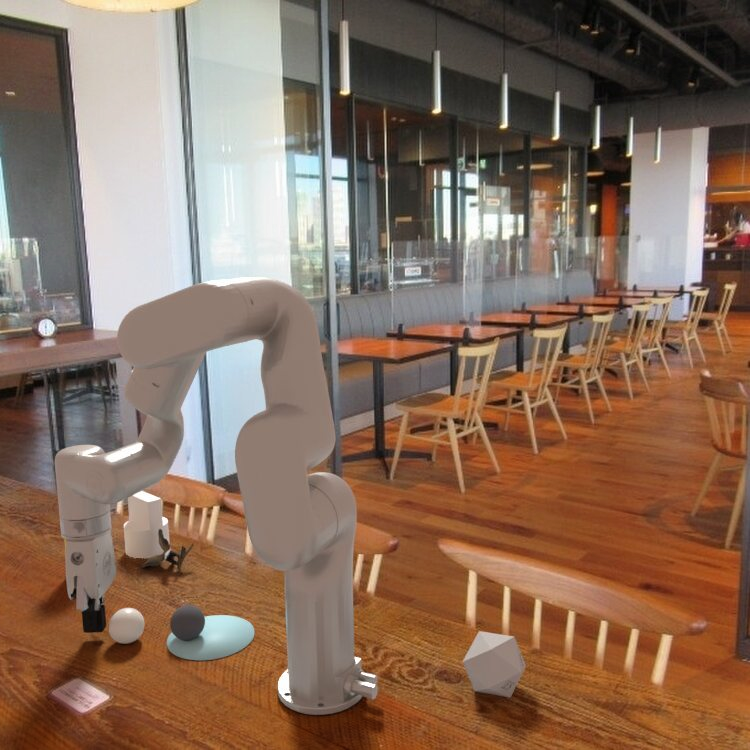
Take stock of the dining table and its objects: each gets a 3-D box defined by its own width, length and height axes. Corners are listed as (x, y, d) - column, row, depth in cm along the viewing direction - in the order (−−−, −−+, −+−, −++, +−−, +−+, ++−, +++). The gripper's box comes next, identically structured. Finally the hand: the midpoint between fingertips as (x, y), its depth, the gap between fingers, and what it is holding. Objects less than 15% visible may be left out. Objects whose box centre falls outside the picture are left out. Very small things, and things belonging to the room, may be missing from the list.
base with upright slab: (178, 549, 157) (174, 495, 155) (139, 562, 150) (135, 506, 148) (155, 538, 163) (152, 486, 161) (117, 550, 156) (113, 496, 154)
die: (494, 719, 99) (536, 662, 99) (444, 675, 102) (484, 619, 102) (503, 706, 107) (543, 653, 106) (456, 665, 110) (494, 613, 110)
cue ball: (100, 614, 120) (113, 642, 121) (106, 626, 115) (120, 655, 116) (132, 597, 122) (145, 625, 123) (139, 607, 117) (153, 636, 118)
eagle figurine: (200, 554, 151) (163, 539, 154) (190, 533, 145) (152, 518, 149) (176, 587, 146) (139, 571, 149) (164, 567, 140) (126, 550, 144)
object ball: (173, 640, 121) (207, 639, 121) (165, 641, 116) (200, 639, 116) (175, 606, 123) (208, 604, 123) (167, 604, 118) (201, 603, 118)
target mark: (271, 626, 123) (271, 625, 123) (217, 669, 111) (217, 667, 111) (206, 609, 130) (206, 608, 130) (148, 647, 117) (147, 646, 117)
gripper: (94, 540, 110) (103, 653, 113) (123, 506, 125) (131, 607, 128) (43, 542, 110) (54, 655, 113) (78, 507, 124) (87, 609, 128)
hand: (95, 629), depth 120 cm, fingers closed
